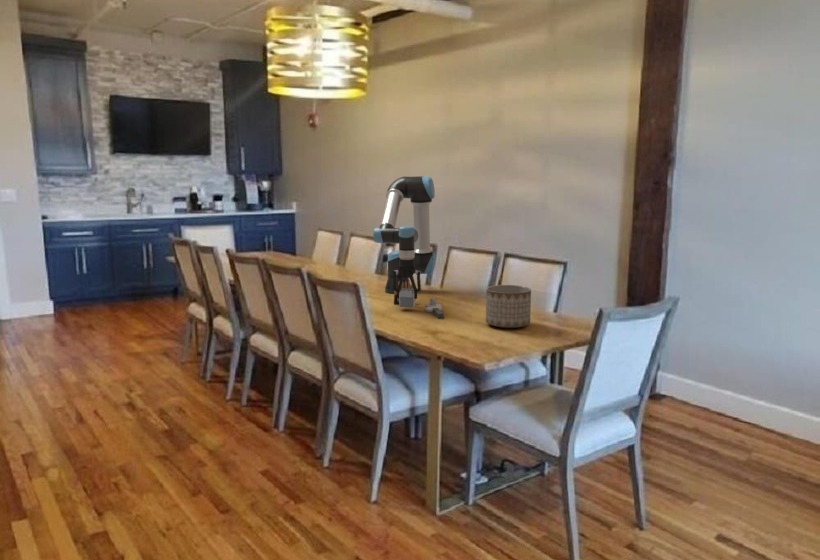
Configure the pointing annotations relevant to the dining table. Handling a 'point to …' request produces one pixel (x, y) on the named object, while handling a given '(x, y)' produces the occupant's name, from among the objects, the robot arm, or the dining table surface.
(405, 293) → the grey rectangular block
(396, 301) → the ammunition clip
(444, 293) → the dining table surface
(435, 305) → the metal ladle
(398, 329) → the dining table surface
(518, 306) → the planter
